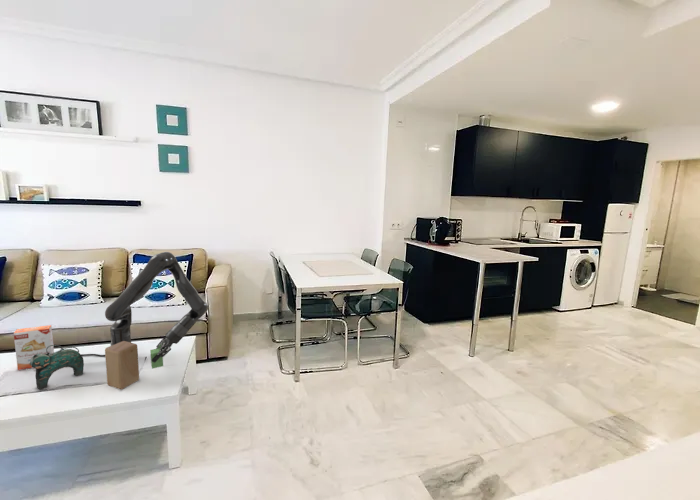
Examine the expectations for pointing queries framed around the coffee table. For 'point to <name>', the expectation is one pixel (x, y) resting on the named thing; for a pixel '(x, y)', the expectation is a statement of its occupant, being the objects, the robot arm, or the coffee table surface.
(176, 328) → the robot arm
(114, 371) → the wooden block
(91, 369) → the coffee table surface
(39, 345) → the cracker box
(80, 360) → the ceramic cat
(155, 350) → the green block
